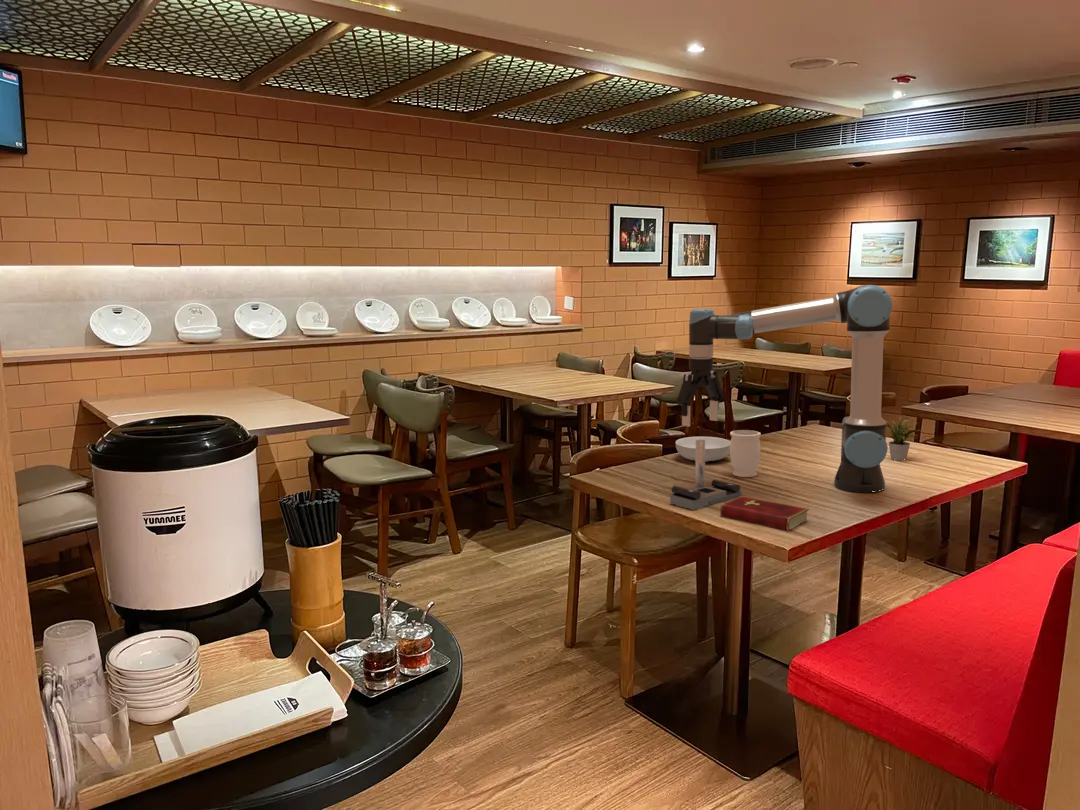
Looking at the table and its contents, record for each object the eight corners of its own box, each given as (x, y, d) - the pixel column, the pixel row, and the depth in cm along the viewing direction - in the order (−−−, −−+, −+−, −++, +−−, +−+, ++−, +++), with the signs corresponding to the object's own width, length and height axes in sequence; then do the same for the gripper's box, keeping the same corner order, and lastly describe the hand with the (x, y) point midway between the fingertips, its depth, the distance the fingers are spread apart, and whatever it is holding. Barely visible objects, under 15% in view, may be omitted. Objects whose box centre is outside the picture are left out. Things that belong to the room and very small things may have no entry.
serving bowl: (664, 459, 292) (664, 442, 291) (698, 451, 305) (698, 434, 304) (708, 469, 276) (708, 450, 275) (742, 459, 289) (742, 441, 288)
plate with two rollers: (741, 495, 240) (742, 479, 240) (693, 510, 226) (693, 493, 226) (717, 490, 248) (718, 473, 247) (669, 504, 234) (669, 486, 233)
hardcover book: (788, 533, 206) (788, 517, 205) (720, 517, 221) (720, 503, 220) (808, 522, 215) (808, 507, 214) (741, 508, 229) (741, 494, 228)
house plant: (889, 465, 274) (891, 420, 272) (867, 456, 288) (869, 414, 285) (925, 463, 276) (928, 418, 273) (903, 454, 289) (905, 412, 287)
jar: (761, 478, 260) (762, 435, 258) (730, 478, 262) (730, 435, 260) (758, 471, 270) (759, 429, 268) (728, 470, 273) (729, 429, 270)
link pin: (706, 488, 250) (707, 440, 248) (700, 490, 248) (701, 442, 246) (699, 486, 252) (699, 439, 250) (693, 488, 251) (693, 440, 248)
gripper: (716, 354, 254) (715, 416, 258) (665, 359, 239) (665, 426, 242) (735, 355, 248) (733, 419, 252) (683, 361, 233) (683, 429, 236)
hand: (700, 423), depth 247 cm, fingers open, 13 cm apart
